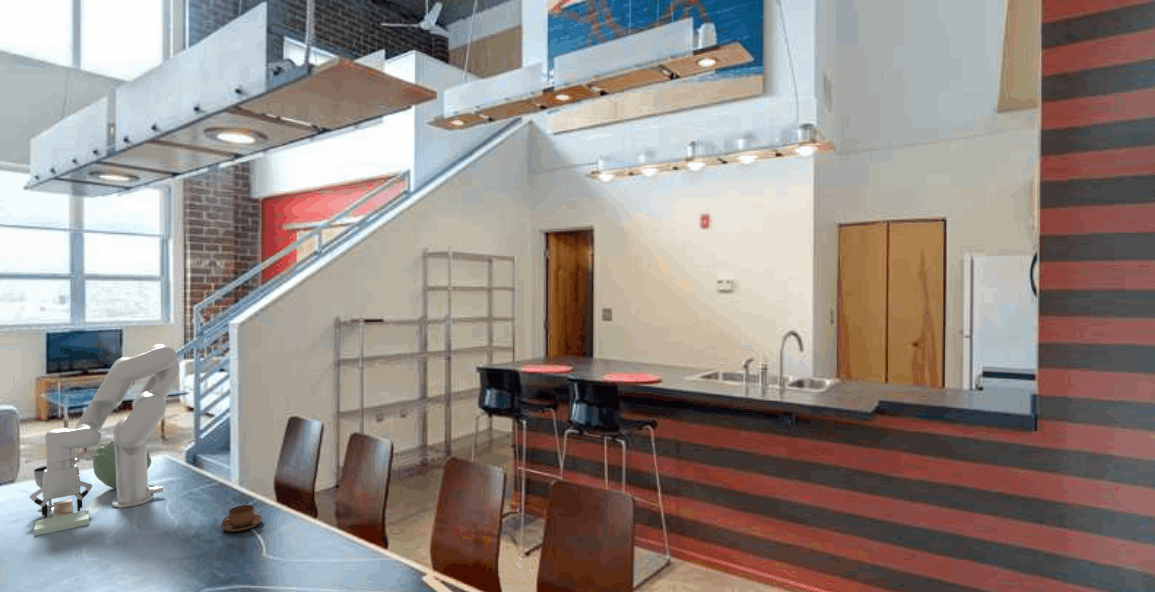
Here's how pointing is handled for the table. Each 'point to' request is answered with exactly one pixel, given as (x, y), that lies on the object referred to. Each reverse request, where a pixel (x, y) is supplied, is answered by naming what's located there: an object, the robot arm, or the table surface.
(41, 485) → the wine glass
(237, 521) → the cup and saucer
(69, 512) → the birch cube
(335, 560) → the table surface
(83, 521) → the sage board
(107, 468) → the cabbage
